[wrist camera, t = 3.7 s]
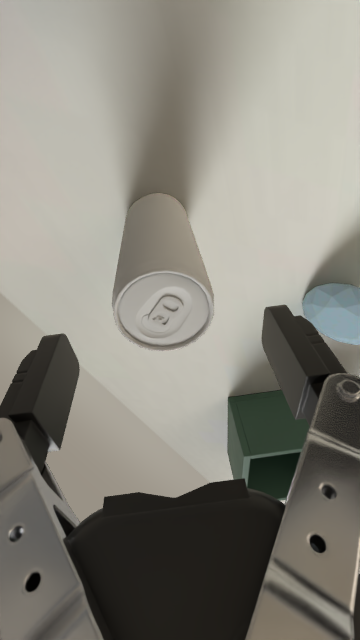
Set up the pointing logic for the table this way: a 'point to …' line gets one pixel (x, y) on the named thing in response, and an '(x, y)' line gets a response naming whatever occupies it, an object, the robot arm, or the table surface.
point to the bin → (264, 441)
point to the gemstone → (335, 311)
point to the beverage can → (161, 277)
